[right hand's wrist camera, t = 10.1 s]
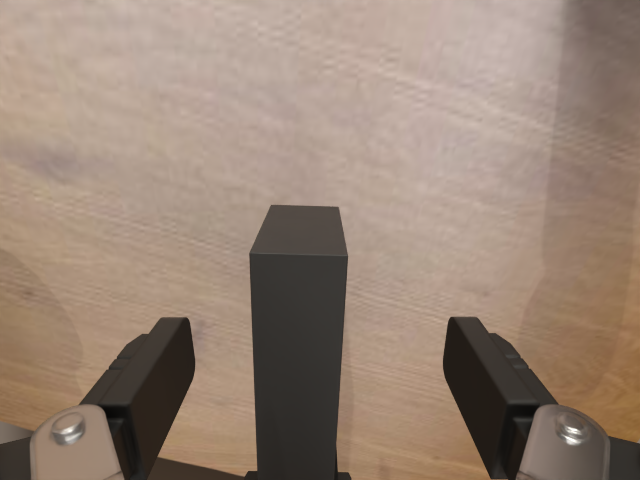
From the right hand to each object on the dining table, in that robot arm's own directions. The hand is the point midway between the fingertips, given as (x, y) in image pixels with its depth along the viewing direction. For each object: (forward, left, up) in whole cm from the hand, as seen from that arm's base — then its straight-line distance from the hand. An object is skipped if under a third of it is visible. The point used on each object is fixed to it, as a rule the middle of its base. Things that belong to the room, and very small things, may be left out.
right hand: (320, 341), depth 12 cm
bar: (+5, +12, -17) cm, 21 cm away
